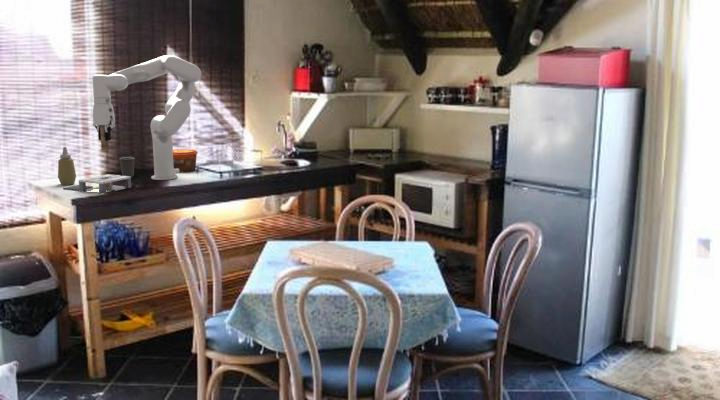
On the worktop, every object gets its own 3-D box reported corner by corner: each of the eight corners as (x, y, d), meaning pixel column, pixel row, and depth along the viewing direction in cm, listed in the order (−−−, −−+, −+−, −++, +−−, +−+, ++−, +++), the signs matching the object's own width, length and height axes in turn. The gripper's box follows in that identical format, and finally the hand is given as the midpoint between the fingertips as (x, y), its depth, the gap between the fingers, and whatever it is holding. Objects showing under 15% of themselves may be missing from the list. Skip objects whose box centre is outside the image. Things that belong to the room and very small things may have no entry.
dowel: (105, 149, 337) (103, 122, 334) (110, 149, 335) (109, 122, 333) (99, 150, 334) (98, 122, 331) (105, 150, 332) (103, 122, 330)
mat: (78, 186, 332) (78, 184, 332) (92, 187, 328) (92, 186, 328) (63, 189, 324) (63, 187, 324) (77, 190, 320) (77, 189, 320)
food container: (183, 173, 370) (182, 153, 367) (161, 171, 377) (160, 151, 375) (204, 169, 383) (203, 150, 381) (182, 167, 391) (182, 148, 389)
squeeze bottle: (79, 184, 336) (76, 147, 333) (62, 186, 331) (59, 148, 327) (72, 182, 342) (69, 145, 339) (55, 184, 337) (52, 146, 333)
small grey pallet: (108, 185, 335) (107, 174, 334) (131, 187, 329) (130, 176, 328) (79, 191, 319) (78, 179, 318) (102, 193, 313) (102, 182, 312)
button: (105, 184, 326) (105, 180, 326) (112, 185, 325) (111, 181, 324) (99, 186, 323) (98, 181, 323) (105, 186, 321) (105, 182, 321)
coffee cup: (126, 178, 355) (124, 158, 353) (116, 176, 360) (115, 157, 358) (139, 176, 361) (138, 156, 359) (130, 174, 366) (129, 155, 364)
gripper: (121, 101, 330) (123, 140, 333) (95, 100, 337) (98, 138, 341) (109, 102, 323) (111, 142, 327) (83, 101, 330) (85, 140, 334)
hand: (104, 139), depth 334 cm, fingers closed on dowel, 3 cm apart
